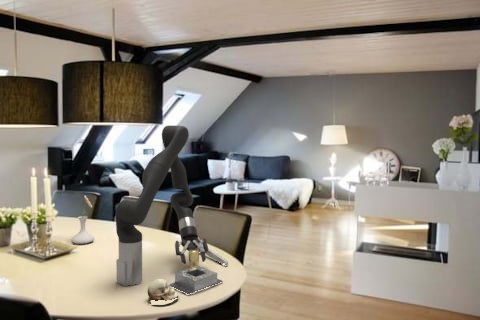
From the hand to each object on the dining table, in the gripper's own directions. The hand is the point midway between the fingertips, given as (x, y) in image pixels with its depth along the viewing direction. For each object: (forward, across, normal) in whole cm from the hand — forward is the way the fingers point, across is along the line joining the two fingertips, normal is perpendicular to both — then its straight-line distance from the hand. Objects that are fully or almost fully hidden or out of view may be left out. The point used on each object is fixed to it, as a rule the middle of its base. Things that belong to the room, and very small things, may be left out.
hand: (194, 262), depth 175 cm
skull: (+19, -18, -11) cm, 28 cm away
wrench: (-9, +12, +17) cm, 22 cm away
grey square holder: (+12, -3, -5) cm, 13 cm away
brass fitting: (+3, 0, +5) cm, 5 cm away
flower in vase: (-41, -44, +49) cm, 77 cm away
